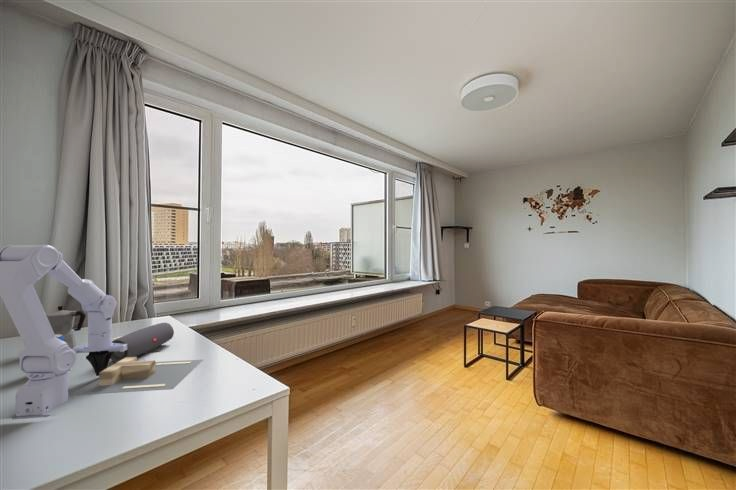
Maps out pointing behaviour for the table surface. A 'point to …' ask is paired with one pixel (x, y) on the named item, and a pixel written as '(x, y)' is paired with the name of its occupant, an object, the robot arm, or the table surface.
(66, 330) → the coffeepot
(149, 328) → the bluetooth speaker
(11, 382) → the table surface
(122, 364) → the t block
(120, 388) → the board
